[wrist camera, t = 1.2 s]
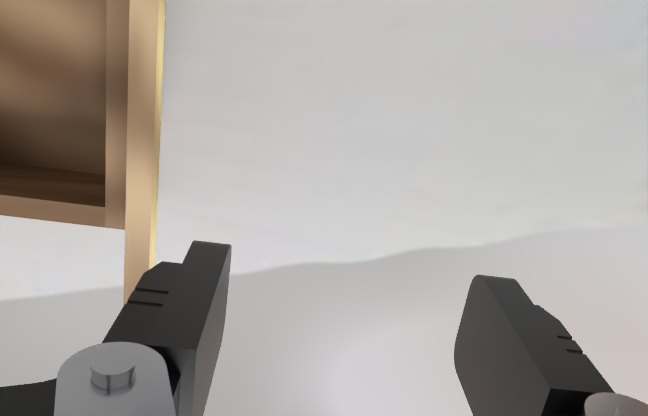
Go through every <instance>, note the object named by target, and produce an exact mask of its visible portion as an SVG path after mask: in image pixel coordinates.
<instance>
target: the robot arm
mask: <svg viewBox="0 0 648 416" xmlns="http://www.w3.org/2000/svg"><path fill="white" fill-rule="evenodd" d="M230 262H231V245H228V244H220V243H212V242H203V241H195V240H194V241H193V242H192V244H191V246H190V248H189V251H188V253H187V255H186V257H185V259H184V261H183V263H182V264H180V263H171V262H163V261H162V262H161V263H159V264H157V265H156V266H154V267H153V268H151V269H149V270H148V271H146V272H144V273H143V275H142V277H141V278H140V280H139V282H138V283H137V285H136V287H135V290H134V291H133V292H132V293H131V295H130V297H129V298H128V300H127V304H126V303H125V305H124V307H123V309H122V310H121V312H120V314H119V315H118V317H117V319H116V320H115V322H114V324H113V325H112V327H111V329H110V330H109V332H108V334H107V335H106V337H105V339H104V340H103V342H102V344H98V345H94V346H91V347H88V348H85V349H83V350H81V351H79V352H77V353H75V354H74V355H72V356H71V357H70V358H69V359H67V360H66V361H65V362H64V363H63V365H62V366H61V368H60V370H59V371H58V375H57V378H56V379H53V380H48V381H45V382H39V383H33V384H24V385H17V386H16V385H15V386H7V387H0V416H203V413H204V409H205V405H206V402H207V397H208V394H209V389H210V386H211V382H212V378H213V374H214V370H215V366H216V362H217V358H218V354H219V350H220V346H221V342H222V336H223V330H224V323H225V314H226V304H227V293H228V283H229V272H230ZM582 352H583V351H582V349H581V348H580V347H579V346H578V344H577V343H576V342H575V341H574V340H572V336H571V335H570V334H569V333H568V331H567V330H566V329H565V327H564V326H563V325H562V323H561V322H560V321H559V320H558V319H556V318H555V317H554V316H552V315H551V314H550V313H548V312H547V311H545V310H544V309H543V308H541V307H540V306H538V305H534V304H533V303H532V301H531V300H530V299H529V297H528V296H527V295H526V293H525V292H524V291H523V289H522V288H521V286H520V285H519V283H518V282H517V281H516V280H515V279H510V278H502V277H494V276H485V275H476V276H475V277H474V279H473V280H472V283H471V285H470V288H469V292H468V296H467V300H466V304H465V307H464V311H463V315H462V318H461V322H460V326H459V330H458V334H457V337H456V342H455V350H454V363H455V369H456V372H457V375H458V378H459V380H460V382H461V385H462V388H463V390H464V393H465V395H466V398H467V401H468V403H469V406H470V408H471V411H472V413H473V416H648V405H647V404H646V403H644V402H641V401H639V400H637V399H634V398H631V397H628V396H625V395H621V394H616V393H615V392H614V391H613V390H612V388H611V387H610V386H609V385H608V383H607V382H606V381H605V379H604V378H603V377H602V375H601V374H600V373H599V372H598V370H597V369H596V368H595V366H594V365H593V364H592V362H591V361H590V360H589V359H588V357H587V356H586V355H584V354H583V353H582Z"/></svg>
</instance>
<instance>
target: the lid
mask: <svg viewBox="0 0 648 416" xmlns="http://www.w3.org/2000/svg"><path fill="white" fill-rule="evenodd" d="M165 2H166V0H130V9H129V60H128V111H127V162H126V213H125V264H124V305H125V303H126V304H127V300H128V298H129V297H130V295H131V293H132V292H133V291H134V290H135V287H136V285H137V283H138V282H139V280H140V278H141V277H142V275H143V273H144V272H146V271H148V270H149V269H151V268H153V267H154V266H155V248H156V224H157V199H158V174H159V150H160V125H161V101H162V76H163V51H164V27H165Z"/></svg>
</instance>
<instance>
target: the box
mask: <svg viewBox="0 0 648 416" xmlns="http://www.w3.org/2000/svg"><path fill="white" fill-rule="evenodd" d="M129 9H130V0H0V215H5V216H14V217H22V218H30V219H39V220H47V221H56V222H64V223H72V224H81V225H89V226H98V227H106V228H114V229H123V230H125V213H126V162H127V111H128V60H129Z"/></svg>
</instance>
